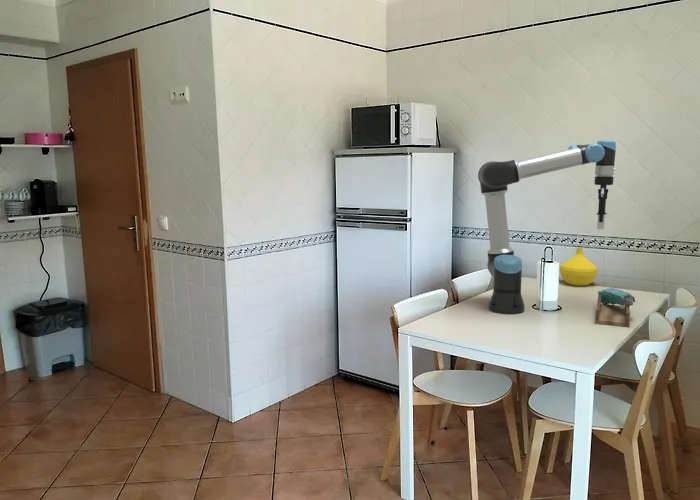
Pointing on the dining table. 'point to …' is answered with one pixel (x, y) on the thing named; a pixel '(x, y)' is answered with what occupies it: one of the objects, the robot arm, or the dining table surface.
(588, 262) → the vase
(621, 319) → the tray
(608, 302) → the building
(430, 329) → the dining table surface
